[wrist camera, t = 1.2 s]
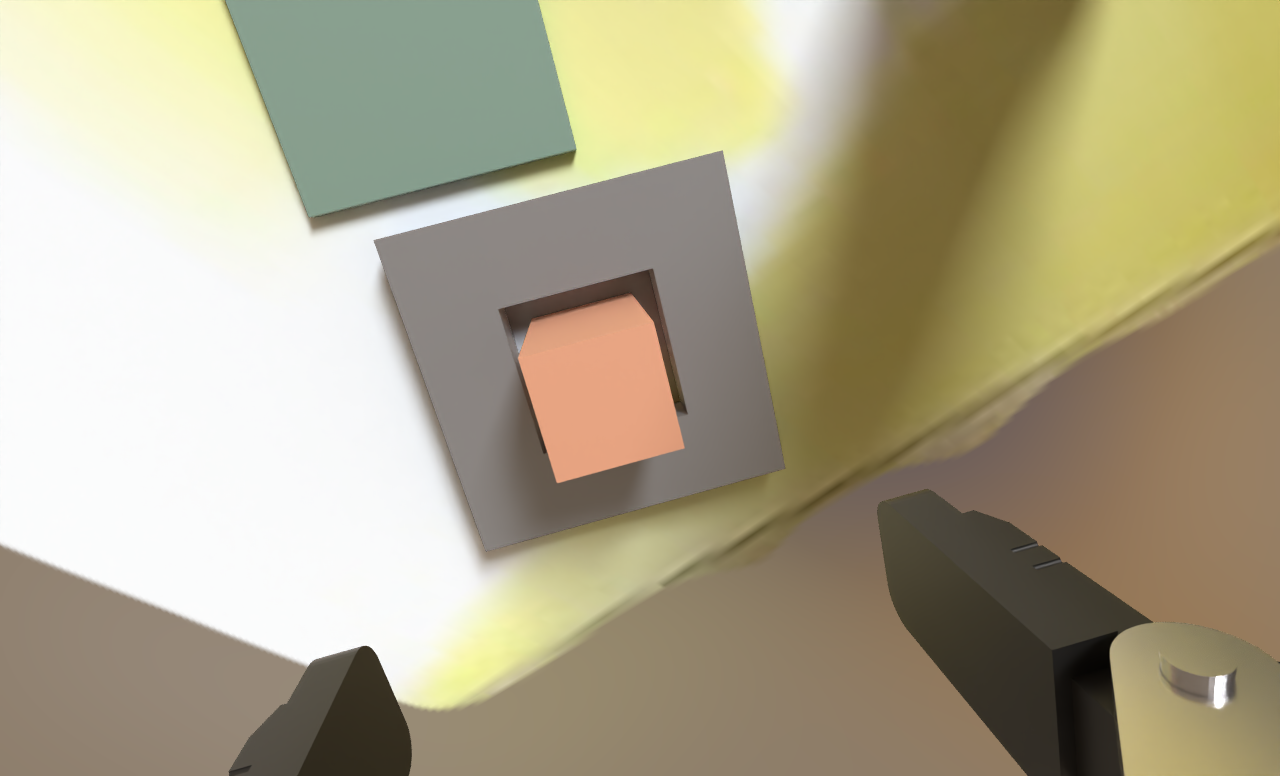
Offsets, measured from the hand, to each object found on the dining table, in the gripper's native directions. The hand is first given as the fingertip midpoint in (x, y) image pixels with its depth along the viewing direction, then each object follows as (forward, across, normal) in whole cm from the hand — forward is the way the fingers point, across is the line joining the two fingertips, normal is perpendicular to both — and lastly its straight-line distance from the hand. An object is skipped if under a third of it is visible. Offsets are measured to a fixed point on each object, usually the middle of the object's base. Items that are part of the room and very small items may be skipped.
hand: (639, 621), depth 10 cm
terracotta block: (+20, 0, 0) cm, 20 cm away
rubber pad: (+20, +4, -14) cm, 24 cm away
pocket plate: (+20, 0, 0) cm, 20 cm away
